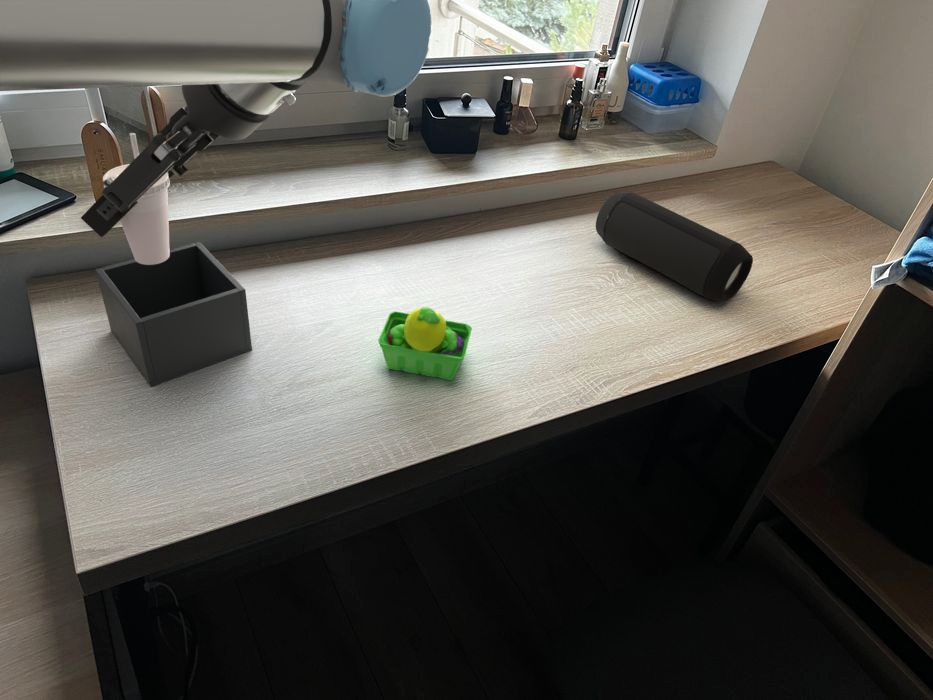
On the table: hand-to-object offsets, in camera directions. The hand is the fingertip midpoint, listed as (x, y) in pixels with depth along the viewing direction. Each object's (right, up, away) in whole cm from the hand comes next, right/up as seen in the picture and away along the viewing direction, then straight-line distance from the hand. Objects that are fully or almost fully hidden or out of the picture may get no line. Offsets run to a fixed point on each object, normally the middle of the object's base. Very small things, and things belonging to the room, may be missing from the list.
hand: (113, 210), depth 78 cm
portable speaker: (+72, -2, +46) cm, 85 cm away
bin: (0, -14, +19) cm, 23 cm away
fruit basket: (+32, -17, +20) cm, 42 cm away
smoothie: (+3, -5, +3) cm, 6 cm away
